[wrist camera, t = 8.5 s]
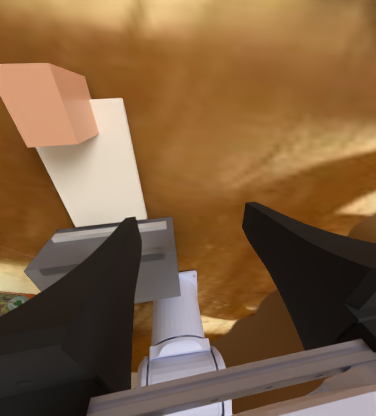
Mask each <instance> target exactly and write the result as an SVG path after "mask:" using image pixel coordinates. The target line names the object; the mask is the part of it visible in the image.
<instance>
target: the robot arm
mask: <svg viewBox="0 0 376 416" xmlns="http://www.w3.org/2000/svg"><path fill="white" fill-rule="evenodd" d="M242 228H243V230H244V233H245V235H246V237H247V239H248V241H249V242H250V244H251V245H252V247H253V248H254V250H255V251H256V253H257V254H258V256H259V257H260V259H261V260H262V262H263V263H264V265H265V266H266V268H267V270H268V271H269V273H270V275H271V277H272V279H273V281H274V283H275V284H276V286H277V288H278V290H279V292H280V294H281V296H282V299H283V301H284V303H285V304H286V307H287V309H288V311H289V313H290V316H291V318H292V320H293V322H294V325H295V327H296V330H297V332H298V334H299V337H300V339H301V342H302V344H303V347H304V349H305V351H303V352H298V353H294V354H289V355H285V356H280V357H275V358H271V359H266V360H262V361H257V362H253V363H248V364H243V365H239V366H234V367H230V368H226V367H225V364H224V361H223V358H222V356H221V354H220V353H219V352H218V351H217V349H216V348H215V347H214V346H211V347H210V344H209V340H208V338H205V337H204V331H203V326H202V321H201V316H200V311H199V306H198V301H197V272H196V271H195V270H192V271H186V272H179V283H180V292H181V296H178V297H172V298H166V299H160V300H154V301H153V315H152V346H151V347H150V356H145V357H144V358H143V360H142V362H141V363H140V365H139V369H138V376H137V385H136V388H134V389H131V361H132V333H133V315H134V300H135V291H136V285H137V279H138V273H139V267H140V261H141V255H142V239H141V235H140V232H139V228H138V224H137V220H136V217H128V218H125V219H124V220H123V221H122V222H121V223H120V225H119V226H118V227H117V228H116V229H115V230H114V231H113V233H112V234H111V235H110V236H109V237H108V238H107V239H106V240H105V241H104V242H103V243H102V244H101V245H100V246H99V247H98V248H97V249H96V250H95V251H94V252H93V253H92V254H91V255H90V256H89V257H87V258H86V259H85V260H84V261H83V262H82V263H80V264H79V265H78V266H77V267H75V268H74V269H73V270H71V271H70V272H69V273H67V274H66V275H65V276H63V277H62V278H61V279H59V280H58V281H57V282H55V283H54V284H52V285H51V286H49V287H48V288H46V289H45V290H43V291H42V292H40V293H39V294H37V295H36V296H34V297H33V298H31V299H29V300H28V301H26V302H25V303H23V304H21V305H19V306H18V307H16V308H14V309H13V310H11V311H9V312H7V313H6V314H4V315H2V316H1V317H0V416H376V243H371V242H366V241H362V240H357V239H353V238H349V237H346V236H342V235H338V234H335V233H331V232H328V231H325V230H322V229H319V228H316V227H313V226H310V225H307V224H304V223H302V222H300V221H297V220H295V219H292V218H290V217H288V216H285V215H283V214H281V213H279V212H277V211H274V210H272V209H270V208H268V207H266V206H264V205H262V204H259V203H257V202H248V203H246V204H245V211H244V218H243V224H242ZM336 374H338V375H336ZM332 375H335V376H333V377H330V378H327V379H325V380H324V382H323V384H322V385H321V386H320V387H319V388H317V389H316V390H314V391H313V392H311V393H309V394H308V395H307V396H304V397H299V398H295V399H291V400H287V401H283V402H279V403H275V404H270V405H267V406H263V407H259V408H256V409H252V410H249V411H245V412H241V413H238V414H234V415H232V401H231V399H235V398H239V397H244V396H248V395H252V394H256V393H260V392H265V391H269V390H273V389H277V388H281V387H286V386H290V385H294V384H298V383H302V382H307V381H311V380H315V379H319V378H324V377H328V376H332Z"/></svg>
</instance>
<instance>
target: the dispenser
mask: <svg viewBox="0 0 376 416" xmlns="http://www.w3.org/2000/svg"><path fill="white" fill-rule="evenodd" d="M137 224H138V228H139V232H140V235H141V239H142V255H141V261H140V267H139V273H138V279H137V285H136V291H135V300H134V304H136V303H142V302H148V301H154V300H160V299H166V298H172V297H178V296H181V292H180V283H179V273H178V264H177V255H176V246H175V237H174V228H173V220H172V217H165V218H157V219H148V220H139V221H137ZM119 225H120V223H113V224H104V225H96V226H87V227H78V228H70V229H61V230H57V231H56V232H55V233H54V235H53V236H52V237H51V238H50V239H49V241H48V242H47V243H46V244H45V246H44V247H43V248H42V249H41V251H40V252H39V253H38V254H37V255H36V257H35V258H34V259H33V260H32V262H31V263H30V264H29V265H28V266H27V268H26V269H25V270H24V272H25V273H26V275H27V276H28V277H29V278H30V279H31V280H32V282H33V283H34V284H35V285H36V286H37V287H38V288H39V290H40V291H41V292H42V291H43V290H45V289H46V288H48V287H49V286H51V285H52V284H54V283H55V282H57V281H58V280H59V279H61V278H62V277H63V276H65V275H66V274H67V273H69V272H70V271H71V270H73V269H74V268H75V267H77V266H78V265H79V264H80V263H82V262H83V261H84V260H85V259H86V258H87V257H89V256H90V255H91V254H92V253H93V252H94V251H95V250H96V249H97V248H98V247H99V246H100V245H101V244H102V243H103V242H104V241H105V240H106V239H107V238H108V237H109V236H110V235H111V234H112V233H113V231H114V230H115V229H116V228H117V227H118V226H119Z"/></svg>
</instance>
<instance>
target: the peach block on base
mask: <svg viewBox="0 0 376 416" xmlns="http://www.w3.org/2000/svg"><path fill="white" fill-rule="evenodd" d="M0 96H1V98H2V100H3V102H4V103H5V105H6V107H7V109H8V111H9V113H10V115H11V117H12V119H13V121H14V122H15V124H16V126H17V128H18V130H19V132H20V134H21V136H22V138H23V140H24V141H25V143H26V145H27V147H36V149H37V151H38V153H39V155H40V157H41V159H42V161H43V163H44V165H45V167H46V169H47V171H48V173H49V175H50V177H51V179H52V181H53V183H54V185H55V187H56V189H57V191H58V193H59V195H60V197H61V199H62V201H63V203H64V205H65V207H66V209H67V211H68V213H69V215H70V217H71V219H72V221H73V223H74V225H75V227H82V226H90V225H99V224H108V223H117V222H122V221H123V220H124V219H125V218H128V217H136V220H143V219H147V214H146V209H145V204H144V199H143V194H142V189H141V184H140V180H139V175H138V170H137V165H136V160H135V155H134V150H133V146H132V141H131V136H130V131H129V126H128V121H127V116H126V112H125V107H124V102H123V98H115V99H91V97H90V94H89V90H88V87H87V83H86V80H85V77H84V76H82V75H79V74H76V73H74V72H71V71H68V70H66V69H63V68H60V67H58V66H55V65H52V64H49V63H27V64H0Z"/></svg>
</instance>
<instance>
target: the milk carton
mask: <svg viewBox="0 0 376 416" xmlns="http://www.w3.org/2000/svg"><path fill="white" fill-rule="evenodd" d="M34 296H36V295H34V294H23V293H12V292H1V291H0V317H1V316H2V315H4V314H6V313H7V312H9V311H11V310H13V309H14V308H16V307H18V306H19V305H21V304H23V303H25V302H26V301H28V300H29V299H31V298H33V297H34Z"/></svg>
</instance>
